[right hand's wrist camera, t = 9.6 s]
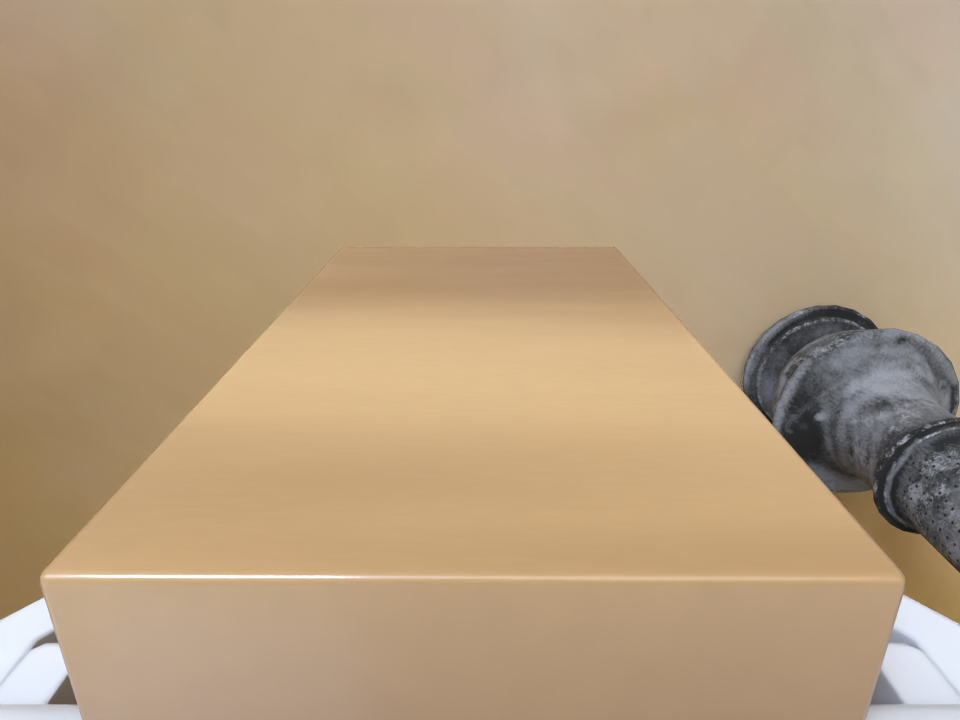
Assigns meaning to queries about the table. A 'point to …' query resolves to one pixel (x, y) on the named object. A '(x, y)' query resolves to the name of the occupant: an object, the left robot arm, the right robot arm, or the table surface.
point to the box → (474, 520)
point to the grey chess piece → (866, 414)
